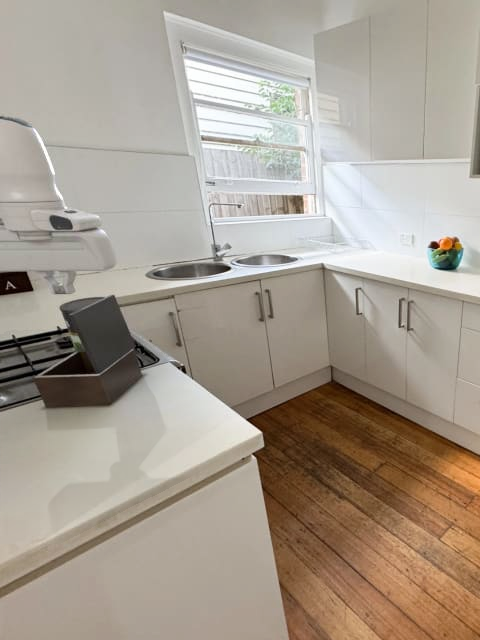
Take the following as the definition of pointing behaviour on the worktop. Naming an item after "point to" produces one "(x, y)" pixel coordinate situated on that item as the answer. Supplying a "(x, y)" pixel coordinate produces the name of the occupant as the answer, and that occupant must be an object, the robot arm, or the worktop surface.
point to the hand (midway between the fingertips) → (64, 293)
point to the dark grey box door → (103, 332)
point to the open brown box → (86, 381)
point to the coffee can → (71, 308)
